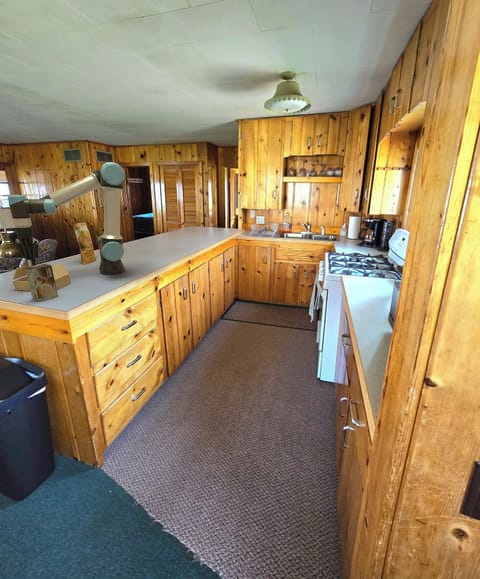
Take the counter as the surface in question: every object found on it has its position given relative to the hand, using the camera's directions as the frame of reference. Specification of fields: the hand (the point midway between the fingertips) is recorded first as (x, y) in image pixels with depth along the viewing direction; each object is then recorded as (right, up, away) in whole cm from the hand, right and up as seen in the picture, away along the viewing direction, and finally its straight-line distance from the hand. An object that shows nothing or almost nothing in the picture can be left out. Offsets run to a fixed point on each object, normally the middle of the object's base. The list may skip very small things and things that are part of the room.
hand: (33, 271), depth 157 cm
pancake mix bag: (0, +10, +56) cm, 57 cm away
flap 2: (+15, -4, 0) cm, 16 cm away
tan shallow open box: (+4, -8, +2) cm, 10 cm away
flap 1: (-7, -3, +2) cm, 7 cm away
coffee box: (+16, -14, -14) cm, 25 cm away
